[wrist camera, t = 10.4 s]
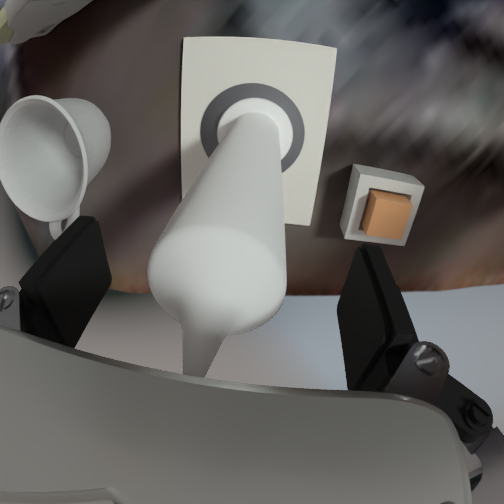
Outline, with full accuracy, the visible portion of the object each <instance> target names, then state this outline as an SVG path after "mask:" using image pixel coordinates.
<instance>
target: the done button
mask: <svg viewBox="0 0 504 504" xmlns="http://www.w3.org/2000/svg"><path fill="white" fill-rule="evenodd" d="M412 206H413V204H412V203H411V202H410V201H409V199H408V198H407V197H406V196H402V195H397V194H392V193H386V192H381V191H375V190H371V191H370V195H369V199H368V203H367V207H366V210H365V214H364V218H363V221H362V227H363V229H364V232H365V234H366V235H368V236H376V237H384V238H392V239H399V240H401V238H402V236H403V233H404V230H405V227H406V224H407V222H408V219H409V216H410V213H411V210H412Z"/></svg>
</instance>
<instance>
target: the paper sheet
mask: <svg viewBox="0 0 504 504" xmlns="http://www.w3.org/2000/svg"><path fill="white" fill-rule="evenodd" d="M336 54H337V48H332V47H327V46H321V45H315V44H309V43H302V42H294V41H286V40H276V39H264V38H249V37H184V41H183V60H182V87H181V178H182V199H183V198H184V196H185V194H186V193H187V191H188V190H189V188H190V187H191V185H192V183H193V182H194V180H195V179H196V177H197V176H198V174H199V173H200V171H201V170H202V168H203V167H204V165H205V164H206V162H207V161H208V159H209V158H210V156H211V155H212V153H213V152H214V150H215V149H216V147H217V146H218V144H219V143H218V138H217V129H218V124H219V121H220V119H221V117H222V115H223V114H224V112H225V111H226V110H227V109H228V108H229V107H230V106H231V105H233V104H234V103H236V102H238V101H240V100H243V99H247V98H262V99H266V100H269V101H271V102H274V103H275V104H277V105H278V106H279V107H281V108H282V109H283V110H284V111H285V113H286V114H287V116H288V117H289V119H290V122H291V125H292V129H293V140H292V144H291V147H290V149H289V151H288V153H287V154H286V155H285V157H284V158H283V159H282V160H281V170H282V187H283V205H284V223H288V224H297V225H306V226H310V222H311V216H312V211H313V206H314V200H315V195H316V189H317V184H318V178H319V172H320V166H321V161H322V154H323V148H324V142H325V136H326V129H327V122H328V116H329V109H330V102H331V94H332V87H333V79H334V71H335V62H336Z"/></svg>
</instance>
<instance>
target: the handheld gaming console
mask: <svg viewBox="0 0 504 504" xmlns="http://www.w3.org/2000/svg"><path fill="white" fill-rule="evenodd" d="M91 1H93V0H7V1H6V4H5V6H4V7H3V9H2V10H1V11H0V44H3V43H7V42H9V44H11V45H14V44H18V43H23V42H25V41H27V40H28V39H30V38H32V37H38V36H44V35H46V34H48V33H49V32H50V31H51V30H52V29H53V28H55V27H56V26H57V25H58V24H59V23H60V22H61V21H63V20H64V19H66V18H68V17H70V16H72V15H73V14H75V13H77V12H78V11H79V10H81V9H82V8H83V7H85V6H86V5H87V4H89V3H90V2H91Z"/></svg>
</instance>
